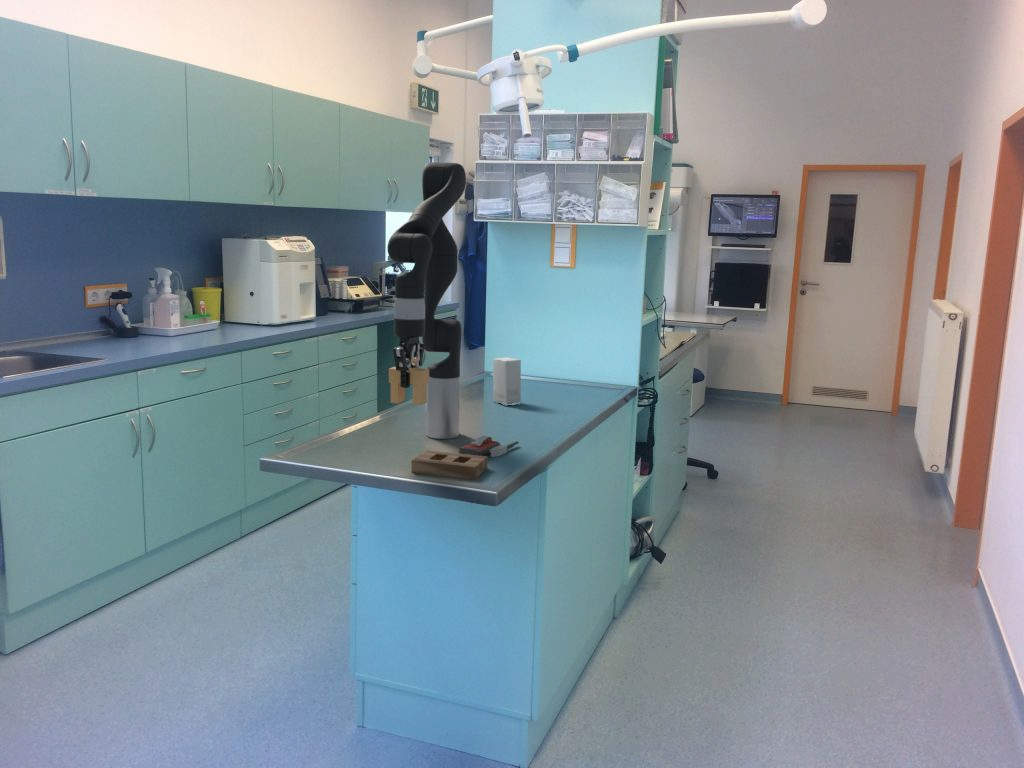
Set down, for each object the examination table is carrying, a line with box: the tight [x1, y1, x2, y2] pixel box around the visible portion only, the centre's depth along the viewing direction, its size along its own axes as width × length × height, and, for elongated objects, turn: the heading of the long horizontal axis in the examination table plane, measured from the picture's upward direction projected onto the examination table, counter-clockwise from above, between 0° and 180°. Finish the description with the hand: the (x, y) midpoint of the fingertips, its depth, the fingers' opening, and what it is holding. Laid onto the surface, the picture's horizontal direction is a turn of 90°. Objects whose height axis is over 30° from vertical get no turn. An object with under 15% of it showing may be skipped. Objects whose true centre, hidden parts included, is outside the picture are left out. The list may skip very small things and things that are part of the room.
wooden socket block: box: [411, 450, 489, 480], centre depth 197 cm, size 10×16×3 cm, turn 74°
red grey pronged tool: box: [458, 435, 519, 458], centre depth 215 cm, size 9×4×20 cm
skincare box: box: [492, 356, 522, 404], centre depth 277 cm, size 8×7×16 cm
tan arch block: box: [388, 366, 429, 406], centre depth 200 cm, size 4×9×8 cm, turn 73°
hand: (409, 385), depth 200 cm, fingers closed on tan arch block, 4 cm apart
